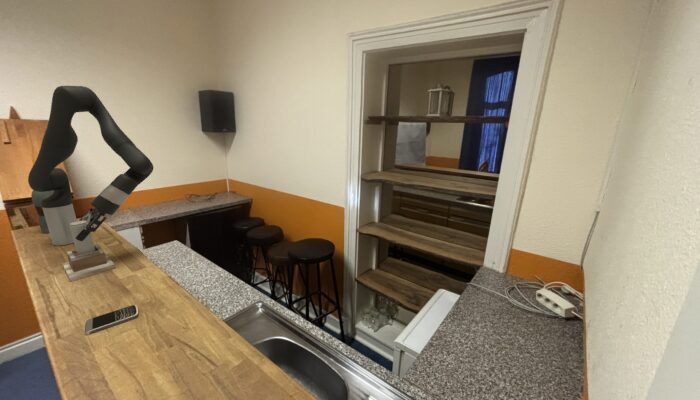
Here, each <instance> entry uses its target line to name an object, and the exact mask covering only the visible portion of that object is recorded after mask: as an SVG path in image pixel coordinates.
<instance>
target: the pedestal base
mask: <svg viewBox="0 0 700 400" xmlns="http://www.w3.org/2000/svg"><path fill="white" fill-rule="evenodd" d="M94 248H95V251H94V252H90V253H86V254H82V255H78V254H77V251H76V249H72V250H68V251H66V252H67V253H66V257H67V262H62V267H63V269H64V272H65V273H66V276H67V278H68V279H69V281H70V282H74V281H76V280H77V281H78V280H81V279H85V278H87V277H90V276H93V275H97V274H100V273H104V272H107V271H110V270H111V271H112V270H113V269H116V264H115V263H114V262H113V261H112V260H111V258H110V257H109V256H108V255H107V254H106V252H105V251H104V249H103V247H102V248H101V246H100V245H99V244H98V243H97V244H94Z"/></svg>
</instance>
